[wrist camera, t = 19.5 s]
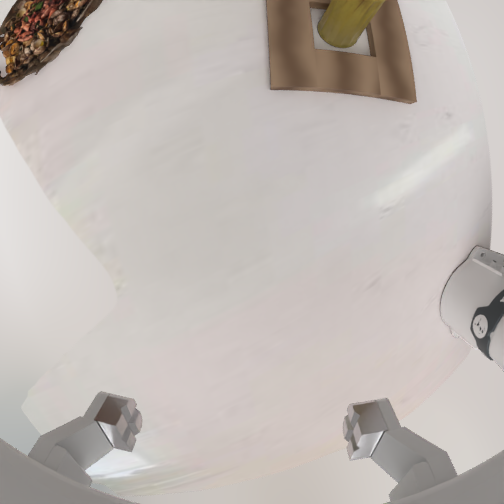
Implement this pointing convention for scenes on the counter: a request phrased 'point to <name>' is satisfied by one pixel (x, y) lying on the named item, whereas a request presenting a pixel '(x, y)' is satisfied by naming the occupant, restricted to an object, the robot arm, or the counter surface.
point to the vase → (347, 20)
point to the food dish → (39, 33)
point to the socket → (339, 54)
